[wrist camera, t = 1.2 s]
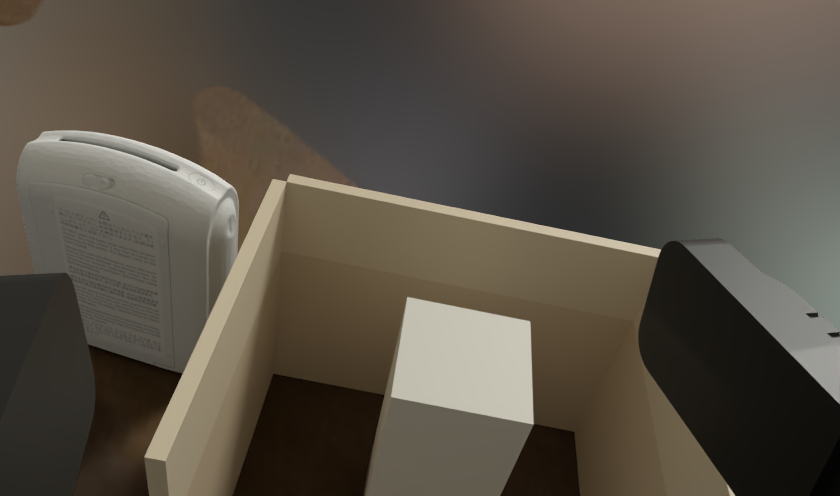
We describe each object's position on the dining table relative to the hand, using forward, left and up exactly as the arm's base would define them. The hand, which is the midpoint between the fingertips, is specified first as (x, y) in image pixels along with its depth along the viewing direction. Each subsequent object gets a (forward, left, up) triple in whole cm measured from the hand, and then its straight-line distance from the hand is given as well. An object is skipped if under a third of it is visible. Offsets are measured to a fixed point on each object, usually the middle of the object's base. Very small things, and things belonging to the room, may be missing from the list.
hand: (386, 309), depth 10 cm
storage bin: (+3, +11, -24) cm, 27 cm away
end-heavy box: (+3, +11, -24) cm, 27 cm away
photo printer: (-13, +19, -25) cm, 34 cm away
